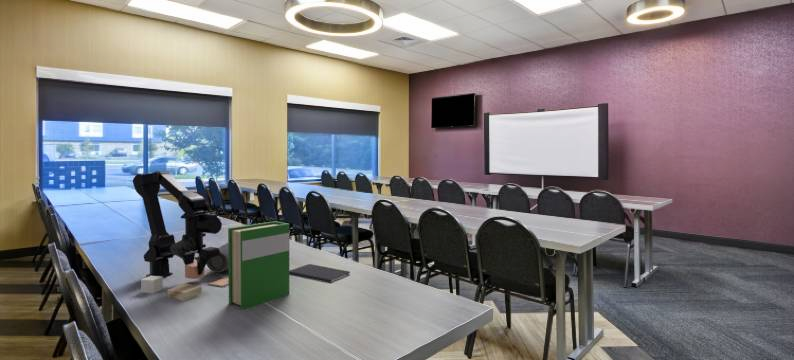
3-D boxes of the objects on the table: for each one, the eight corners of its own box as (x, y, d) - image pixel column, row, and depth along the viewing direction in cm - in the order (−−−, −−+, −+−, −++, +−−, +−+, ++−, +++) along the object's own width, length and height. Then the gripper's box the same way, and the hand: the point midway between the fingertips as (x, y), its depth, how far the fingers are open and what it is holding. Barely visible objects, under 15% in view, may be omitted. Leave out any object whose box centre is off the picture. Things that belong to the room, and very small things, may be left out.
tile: (207, 284, 149) (207, 283, 149) (222, 279, 156) (222, 278, 156) (222, 287, 147) (222, 286, 147) (236, 281, 153) (236, 280, 153)
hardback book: (242, 309, 127) (242, 231, 125) (228, 304, 131) (228, 228, 130) (289, 294, 141) (289, 223, 139) (275, 289, 145) (275, 221, 144)
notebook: (287, 275, 165) (331, 284, 154) (287, 271, 165) (331, 279, 154) (309, 267, 176) (351, 275, 166) (309, 263, 176) (351, 271, 165)
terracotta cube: (185, 277, 151) (184, 265, 151) (195, 274, 155) (195, 262, 155) (194, 279, 149) (194, 266, 149) (204, 275, 153) (204, 263, 153)
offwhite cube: (141, 292, 140) (141, 279, 140) (150, 288, 145) (150, 275, 144) (153, 293, 140) (153, 280, 139) (162, 289, 144) (162, 276, 144)
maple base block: (167, 298, 136) (167, 289, 136) (185, 292, 142) (185, 283, 142) (184, 301, 133) (184, 292, 133) (201, 294, 140) (201, 286, 140)
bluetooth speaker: (229, 276, 160) (228, 250, 160) (205, 275, 161) (204, 249, 160) (251, 260, 183) (250, 238, 183) (229, 260, 183) (229, 237, 183)
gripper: (155, 232, 147) (156, 276, 148) (195, 237, 140) (195, 283, 141) (182, 227, 157) (183, 268, 158) (220, 232, 150) (221, 274, 151)
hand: (194, 273), depth 152 cm, fingers closed on terracotta cube, 4 cm apart
